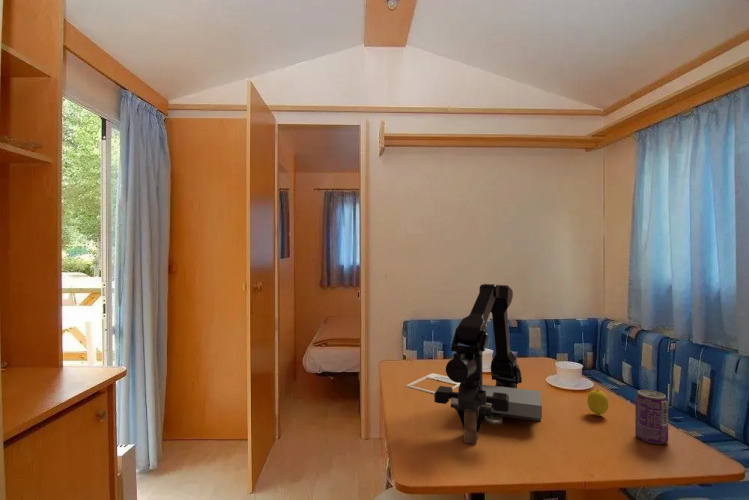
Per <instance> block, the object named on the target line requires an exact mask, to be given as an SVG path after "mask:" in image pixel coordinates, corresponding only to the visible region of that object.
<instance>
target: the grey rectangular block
mask: <svg viewBox="0 0 749 500" xmlns="http://www.w3.org/2000/svg"><path fill="white" fill-rule="evenodd" d="M483 390H485V391H486V396H492V397H493V392H497V393H505V394H507V395H508V396H509V409H508V412H503V411H495V410H494V409H493V408H492V409H491V412H487V413H497V414H500V415H501V416H502V417H505V418H511V419H512V418H513V419H521V420H526V421H527V420H528V421H535V422H541V421H542V418H543V411H542V410H543V404H542V396H541V395H542V394H541V391H540V390H535V389H534V390H533V389H527V388H518V387H517V388H509V387H500V386H495V385H489V384H483ZM478 407H479V408H480V406H478Z"/></svg>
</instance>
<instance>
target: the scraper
mask: <svg viewBox="0 0 749 500" xmlns="http://www.w3.org/2000/svg"><path fill="white" fill-rule="evenodd" d="M478 415H479V407H478V410H476V411H472V410H468V409H465V410H464V428H463V440H464V441H463V443H466V444H473V445H477V443H478V442H477V441H478V438H479V433H480V431H479V432H477V423H478Z"/></svg>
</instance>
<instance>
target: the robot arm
mask: <svg viewBox="0 0 749 500" xmlns="http://www.w3.org/2000/svg"><path fill="white" fill-rule="evenodd" d="M478 289H479V293H478V295H477V298H476V300H475V302H474V304H473V306H472V309H471V311H470V313H469V315H467V316H466V317H463V318H462V320H461V321H460V322H459V324H458V325H457V327H456V328H455V330H454V336H453V339H452V343H451V348H450V352H455V353H453V355H452V356H453V357H452V359H450V360H448V361H447V363H446V365H445V374H446V375H447V377H449V378H450V379H451V380H452V381H454V382H456V383H460V385H459V386H458V387H457V389H458V391H454V389H452V387H453V386H451V387H450V386H445V385H439V386H438V387H437V388H436V390H435V391H434V392H435V394H433V395H434V397H433V398H434V403H436V404H441V405H442V404H443V405H444V404H445V405H446V404H448V403H449V401H450V407H451V408H452V409H454V410H455V411H456V413H457V414H458V417H459V419H460V422H461V425H462V428H463V429H464V410H465V409H468V410H472V411H476V410H478V406H480V408H479V415H478V423H477V432H479V433H480V429H481V426H482V422H483V420H484V416H485V414H486V413H487V412H491V409H492V408H493V409H494V410H495V411H503V412H508V409H509V396H508V395H507V394H505V393H497V392H493V397H492V396H486V391H485V390H483V385H484V384H483V352H485V351H486V348H487V344H488V340H489V334H488V331H487V330H488V329H487V326H486V325H487V322H488V319H489V318H490V317H489V316H490V314H491V317H492V319H491V320H492V328H493V336H494V337H493V338H494V350H495V354H494V356H493V358H492V359H491V363H490V373H491V374H490V375H491V380H492V381H493V380H494V381H495V385H494V386H500V387H509V388H518V384H522V382H523V376H522V371H521V369H520V365H519V364H518V361H517V356H515V354H514V353H513V352H512V350H511V342H510V340H511V339H510V329H509V328H510V327H509V320H508V316H509V315H508V309H509V307H510V305H511V304H512V300H513V298H514V297H513V296H514V293H513V289H512V288H511V287H510V286H509V285H507V284H493V283H483V284H480V286H479V288H478Z"/></svg>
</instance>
